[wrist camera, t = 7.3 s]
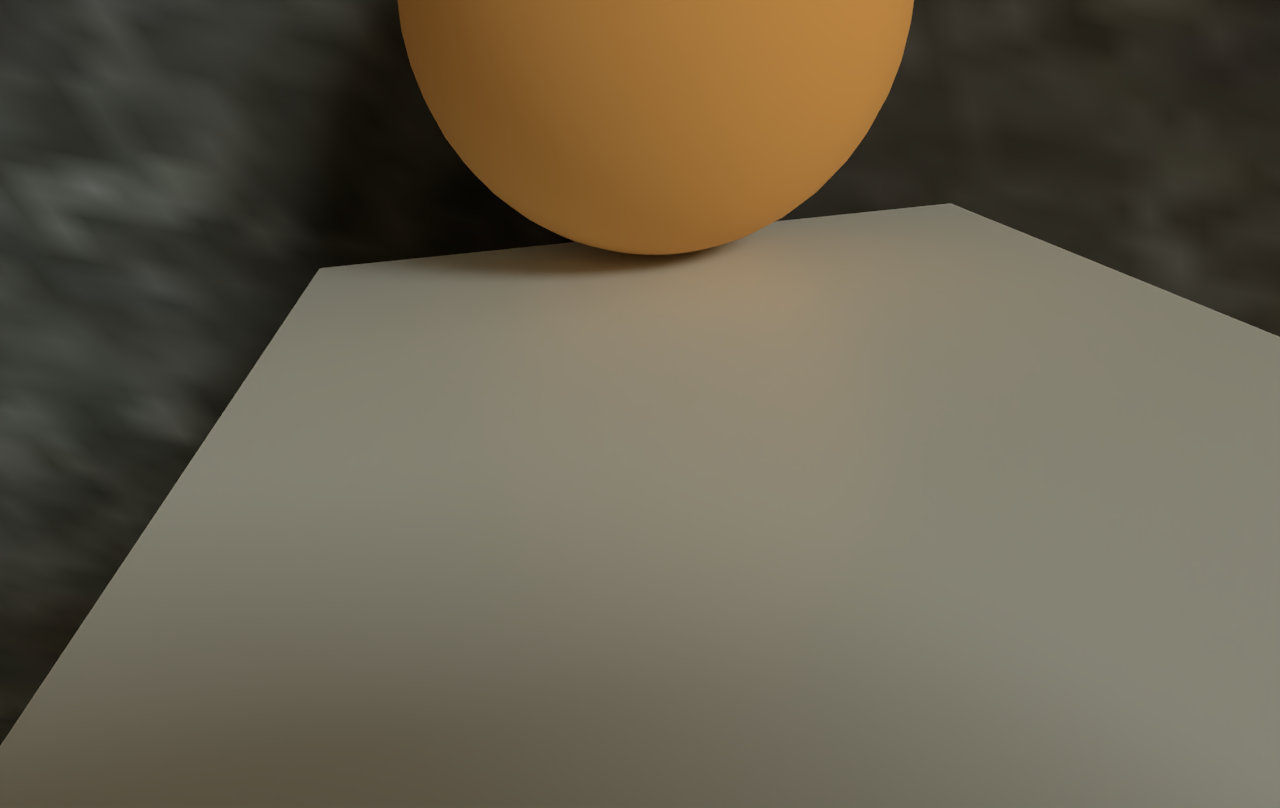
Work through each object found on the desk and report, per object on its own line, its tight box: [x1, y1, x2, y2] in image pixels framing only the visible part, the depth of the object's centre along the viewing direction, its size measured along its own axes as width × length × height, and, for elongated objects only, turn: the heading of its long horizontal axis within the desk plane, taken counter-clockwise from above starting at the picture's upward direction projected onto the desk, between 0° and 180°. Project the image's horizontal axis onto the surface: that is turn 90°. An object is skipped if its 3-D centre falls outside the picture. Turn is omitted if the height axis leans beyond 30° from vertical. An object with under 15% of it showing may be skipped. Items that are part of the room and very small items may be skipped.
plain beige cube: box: [0, 204, 1280, 808], centre depth 8 cm, size 8×8×9 cm
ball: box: [397, 0, 914, 255], centre depth 8 cm, size 5×5×5 cm
